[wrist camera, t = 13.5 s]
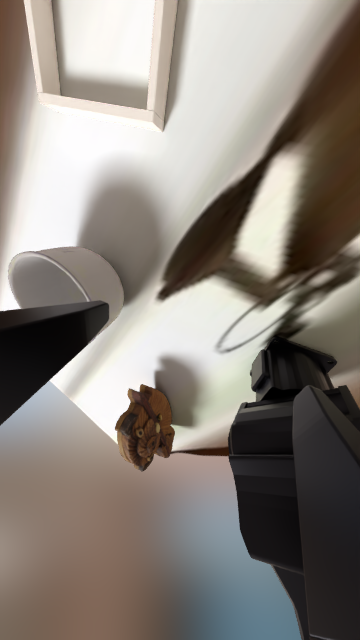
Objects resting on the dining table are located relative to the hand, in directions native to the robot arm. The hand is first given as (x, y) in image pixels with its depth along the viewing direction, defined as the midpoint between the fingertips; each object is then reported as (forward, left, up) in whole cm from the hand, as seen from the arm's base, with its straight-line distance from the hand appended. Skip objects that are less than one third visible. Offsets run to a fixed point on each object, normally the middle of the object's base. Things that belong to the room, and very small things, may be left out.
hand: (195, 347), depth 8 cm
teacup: (+17, +8, -13) cm, 23 cm away
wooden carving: (+3, +26, -13) cm, 29 cm away
